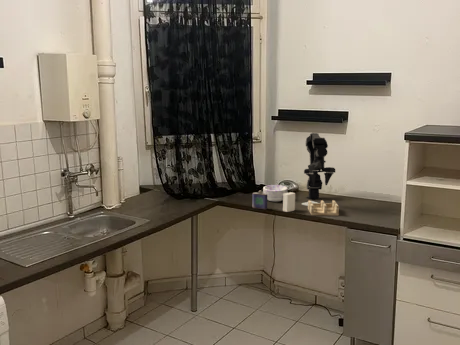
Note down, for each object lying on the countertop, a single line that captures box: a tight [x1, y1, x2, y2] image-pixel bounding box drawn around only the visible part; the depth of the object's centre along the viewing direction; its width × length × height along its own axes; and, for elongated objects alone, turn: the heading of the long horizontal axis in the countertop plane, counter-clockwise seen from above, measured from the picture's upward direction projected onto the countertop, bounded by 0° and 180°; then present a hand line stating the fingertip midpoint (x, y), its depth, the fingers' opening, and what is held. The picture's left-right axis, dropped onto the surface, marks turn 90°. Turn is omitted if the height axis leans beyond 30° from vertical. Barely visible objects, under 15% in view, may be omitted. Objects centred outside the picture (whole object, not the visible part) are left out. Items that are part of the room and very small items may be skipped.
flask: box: [252, 189, 268, 210], centre depth 276 cm, size 9×3×11 cm, turn 65°
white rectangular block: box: [282, 191, 296, 213], centre depth 271 cm, size 4×6×10 cm, turn 126°
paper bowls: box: [262, 184, 289, 202], centre depth 295 cm, size 15×15×8 cm
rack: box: [307, 199, 340, 217], centre depth 269 cm, size 14×15×5 cm
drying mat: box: [301, 200, 318, 207], centre depth 283 cm, size 12×9×1 cm
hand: (319, 185), depth 277 cm, fingers open, 9 cm apart
